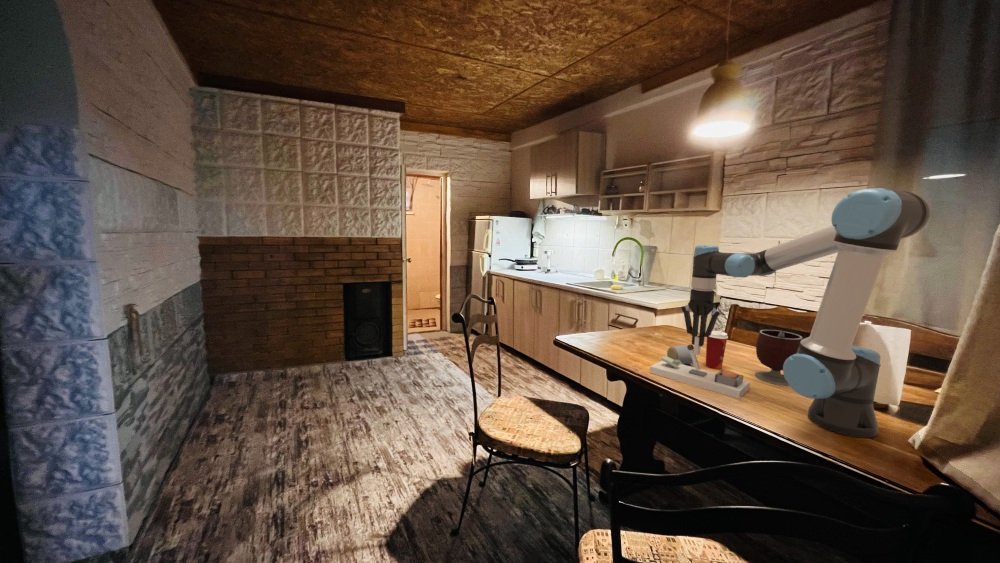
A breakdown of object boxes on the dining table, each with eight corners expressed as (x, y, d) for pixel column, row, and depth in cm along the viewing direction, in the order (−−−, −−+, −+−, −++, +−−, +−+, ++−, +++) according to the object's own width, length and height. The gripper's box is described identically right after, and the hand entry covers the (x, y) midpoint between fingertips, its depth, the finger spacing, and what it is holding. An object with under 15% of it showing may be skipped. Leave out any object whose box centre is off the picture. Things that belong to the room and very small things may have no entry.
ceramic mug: (664, 360, 164) (666, 342, 163) (682, 360, 166) (684, 342, 165) (681, 370, 154) (683, 351, 153) (699, 369, 156) (702, 350, 155)
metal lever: (702, 368, 143) (693, 343, 145) (700, 370, 141) (691, 344, 143) (696, 369, 145) (687, 344, 146) (694, 371, 143) (685, 345, 145)
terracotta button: (737, 380, 136) (738, 373, 136) (734, 383, 133) (734, 376, 133) (723, 376, 139) (724, 369, 139) (719, 379, 136) (720, 372, 136)
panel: (749, 389, 137) (750, 375, 137) (739, 398, 129) (740, 383, 128) (662, 365, 158) (664, 353, 158) (649, 372, 150) (650, 359, 149)
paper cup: (727, 371, 155) (731, 336, 153) (706, 369, 156) (710, 334, 154) (720, 364, 162) (723, 330, 160) (699, 362, 163) (703, 329, 161)
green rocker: (679, 365, 149) (681, 361, 149) (676, 367, 147) (677, 363, 146) (664, 358, 153) (665, 354, 153) (660, 359, 151) (661, 355, 150)
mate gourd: (752, 369, 157) (758, 320, 155) (796, 377, 150) (803, 325, 147) (752, 381, 144) (759, 327, 142) (799, 391, 137) (808, 334, 134)
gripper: (726, 290, 138) (719, 356, 141) (687, 286, 147) (682, 347, 150) (719, 292, 133) (712, 360, 136) (679, 288, 142) (674, 352, 145)
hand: (696, 354), depth 143 cm, fingers closed
